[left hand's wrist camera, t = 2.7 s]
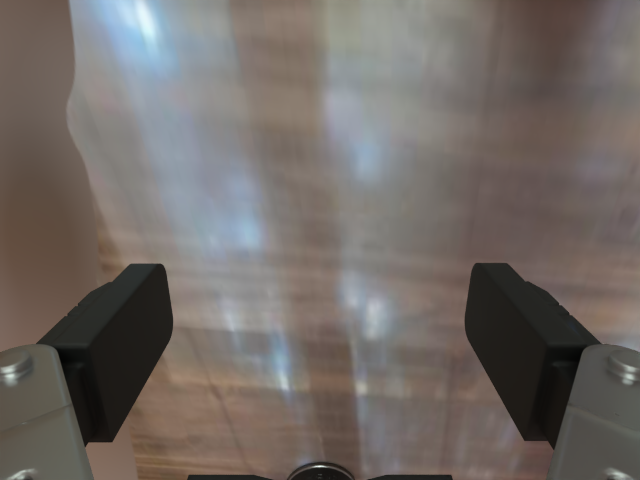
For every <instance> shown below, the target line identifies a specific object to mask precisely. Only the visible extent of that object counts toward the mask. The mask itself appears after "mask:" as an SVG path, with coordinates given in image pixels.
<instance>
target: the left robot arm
mask: <svg viewBox="0 0 640 480" xmlns="http://www.w3.org/2000/svg"><path fill="white" fill-rule="evenodd" d="M172 330H173V314H172V308H171V301H170V294H169V288H168V281H167V275H166V270H165V268H164V266H163V265H162V264H130V265H129V266H128V267H127V268H126V269H125V270H124V271H123V272H122V273H121V274H120V275H119V276H118V277H117V278H116V279H115V280H114V281H113V282H108V283H107V284H105V285H103V286H101V287H99V288H97V289H95V290H93V291H92V292H90V293H89V294H88V295H87V296H86V297H85V298H84V299H83V300H82V301H80V302H79V303H78V306H75V307H74V308H73V309H72V310H71V311H70V312H69V313H68V316H65V317H64V318H63V319H61V320H60V321H59V322H58V323H57V324H56V325H55V326H54V327H53V328H52V329H51V330H50V331H49V332H48V333H47V334H46V335H45V336H44V337H43V338H41V339H40V340H39V341H38V342H37V343H36V344H31V345H24V346H19V347H15V348H11V349H8V350H5V351H2V352H0V480H94V478H93V474H92V471H91V467H90V464H89V460H88V457H87V453H86V450H85V447H86V445H87V444H88V442H113V440H114V438H115V436H116V435H117V433H118V431H119V429H120V427H121V426H122V424H123V422H124V420H125V419H126V417H127V415H128V413H129V412H130V410H131V408H132V406H133V405H134V403H135V401H136V399H137V397H138V396H139V394H140V392H141V390H142V389H143V387H144V385H145V383H146V381H147V380H148V378H149V376H150V374H151V373H152V371H153V369H154V367H155V366H156V364H157V362H158V360H159V358H160V357H161V355H162V353H163V351H164V350H165V348H166V346H167V344H168V343H169V341H170V338H171V335H172ZM465 331H466V335H467V338H468V340H469V342H470V344H471V346H472V348H473V349H474V351H475V353H476V355H477V357H478V358H479V360H480V362H481V364H482V366H483V367H484V369H485V371H486V373H487V375H488V376H489V378H490V380H491V382H492V383H493V385H494V387H495V389H496V391H497V392H498V394H499V396H500V398H501V400H502V401H503V403H504V405H505V407H506V409H507V410H508V412H509V414H510V416H511V418H512V419H513V421H514V423H515V425H516V427H517V428H518V430H519V432H520V434H521V435H522V437H523V439H524V441H548V442H549V443H550V445H551V447H552V448H553V450H554V453H553V457H552V460H551V464H550V467H549V471H548V474H547V478H546V480H640V352H638V351H635V350H632V349H629V348H625V347H621V346H616V345H609V344H601V343H600V342H599V341H598V340H597V339H596V338H595V337H594V336H593V335H592V334H591V333H590V332H589V331H588V330H587V329H586V328H585V327H583V326H582V325H581V324H580V323H579V322H578V321H577V320H576V319H575V318H574V317H573V316H572V315H569V312H568V311H567V310H566V309H565V308H564V307H563V306H562V305H559V303H558V302H557V301H556V300H555V299H554V298H553V297H552V296H551V295H550V294H549V293H548V292H547V291H545V290H543V289H541V288H540V287H538V286H536V285H534V284H532V283H530V282H525V281H524V280H523V279H522V278H521V277H520V276H519V275H518V274H517V273H516V272H515V271H514V270H513V269H512V268H511V267H510V266H509V265H508V264H507V263H476V264H475V265H474V266H473V269H472V272H471V278H470V285H469V292H468V298H467V305H466V312H465ZM187 480H272V479H268V478H264V477H260V476H256V475H189V476H188V479H187ZM287 480H355V479H354V477H353V476H352V474H351V473H350V472H349V471H347V470H346V469H344V468H343V467H341V466H338V465H335V464H331V463H324V462H318V463H311V464H307V465H304V466H302V467H300V468H298V469H296V470H295V471H294V472H292V473H291V474H290V476H289V477H288V479H287ZM368 480H453V479H452V476H451V475H384V476H380V477H376V478H372V479H368Z"/></svg>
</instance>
